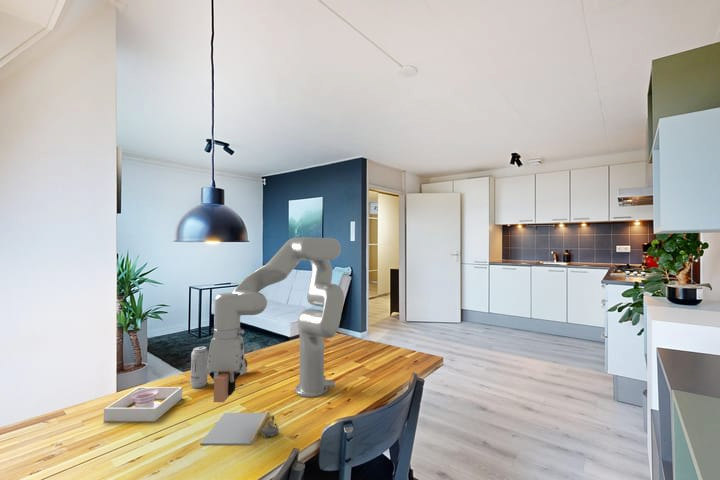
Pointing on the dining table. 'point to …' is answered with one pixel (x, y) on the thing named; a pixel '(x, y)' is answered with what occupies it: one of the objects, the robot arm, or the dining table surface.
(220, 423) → the mat
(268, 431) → the figurine
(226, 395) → the block
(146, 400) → the teacup
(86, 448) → the dining table surface
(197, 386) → the energy drink can
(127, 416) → the rectangular tray
